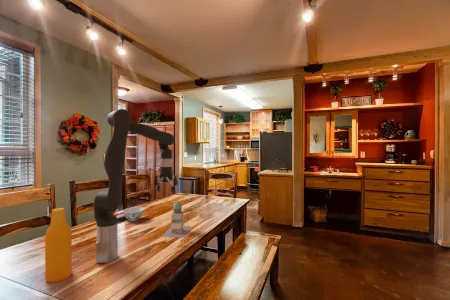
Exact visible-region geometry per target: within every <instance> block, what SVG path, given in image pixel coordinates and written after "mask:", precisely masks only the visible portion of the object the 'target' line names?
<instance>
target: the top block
mask: <svg viewBox="0 0 450 300" xmlns="http://www.w3.org/2000/svg"><path fill="white" fill-rule="evenodd" d="M184 215H185V214H184V210H182V212H181V213H179V214H175V213H174V211H172V212H171V224H172V223H178V224H181V223H182V222H183V221H184V222H185V219H184V218H185V217H184Z"/></svg>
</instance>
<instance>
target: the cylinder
mask: <svg viewBox="0 0 450 300" xmlns="http://www.w3.org/2000/svg"><path fill="white" fill-rule="evenodd" d="M182 207H183V206H182V202H181V201H175V202H173V212H174V213H175V214H179V213H181V212H182V211H183V209H182Z"/></svg>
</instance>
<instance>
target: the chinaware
mask: <svg viewBox="0 0 450 300" xmlns="http://www.w3.org/2000/svg"><path fill="white" fill-rule="evenodd" d="M122 212H123V214H124V216H125V217H126V218H127V220H128V221H129V222H137V221H138V220H139V219H140V218H141V217H142V216H143V214H144V212H145V208H144V207H141V206H136V207H135V206H134V207H133V206H132V207H128V208H125V209H123V210H122Z"/></svg>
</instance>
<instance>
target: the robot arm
mask: <svg viewBox="0 0 450 300" xmlns="http://www.w3.org/2000/svg"><path fill="white" fill-rule="evenodd" d="M106 122H107V124H108V125H110V126H111V127H112V128H113V131H112V136H111V138H110V141H109V142H108V144H107V147H106V150H105V153H104V160H103V166H104V167H103V168H104V171H105V173H106V175H107V178H108V191H107V190H106V191H105V190H101V191H100V192H98V193H97V194H96V195H95V196H94V199H93V212H94V213H93V214H94V220H95V222H96V243H95V263H98V264H108V263H111V262H114V261H115V260H116V259H117V258H118V256H119V251H118V249H119V248H118V246H119V244H118V243H119V240H118V239H119V238H118V232H119V231H118V229H119V228H118V225H119V224H118V223H117V222H118V220H117V217H116V216H115V215H114V214H115V213H113V212H115V211H117V210H118V209H119V207H120V206H121V203H122V195H123V194H122V192H123V191H122V190H123V189H122V188H123V173H124V172H123V171H124V166H125V159H126V149H127V142H128V141H127V140H128V136H129V132H130V133H134V134H137V135H139V136H142V137H145V138H147V139H149V140H152V141H155V142H158V148H159V151H160V161H159V174H155V175H154V183H153V184H154V185H156V187H157V188H156V190H157V192H158V193H160V192H161V184H163V183H168V184H170V185H171V187H170V188H171V193H174V192H175V189H176V188H175V186H177V185H178V175H173V151H172V150H171V149H170V148H169V146H171V145H173V144H175V141H176V139H175V136H174V135H173V134H171V133H170V132H167V131H162V130H159V129H158V128H156V127H153V126H151V125H148V124H145V123H140V122H138V121H133V120H132V117H131V113H130V112H129V111H128V110H127V109H125V108H120V109H116V110H112V111H111V112H109V113H108V114H107V117H106ZM159 179H160V180H159Z"/></svg>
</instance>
